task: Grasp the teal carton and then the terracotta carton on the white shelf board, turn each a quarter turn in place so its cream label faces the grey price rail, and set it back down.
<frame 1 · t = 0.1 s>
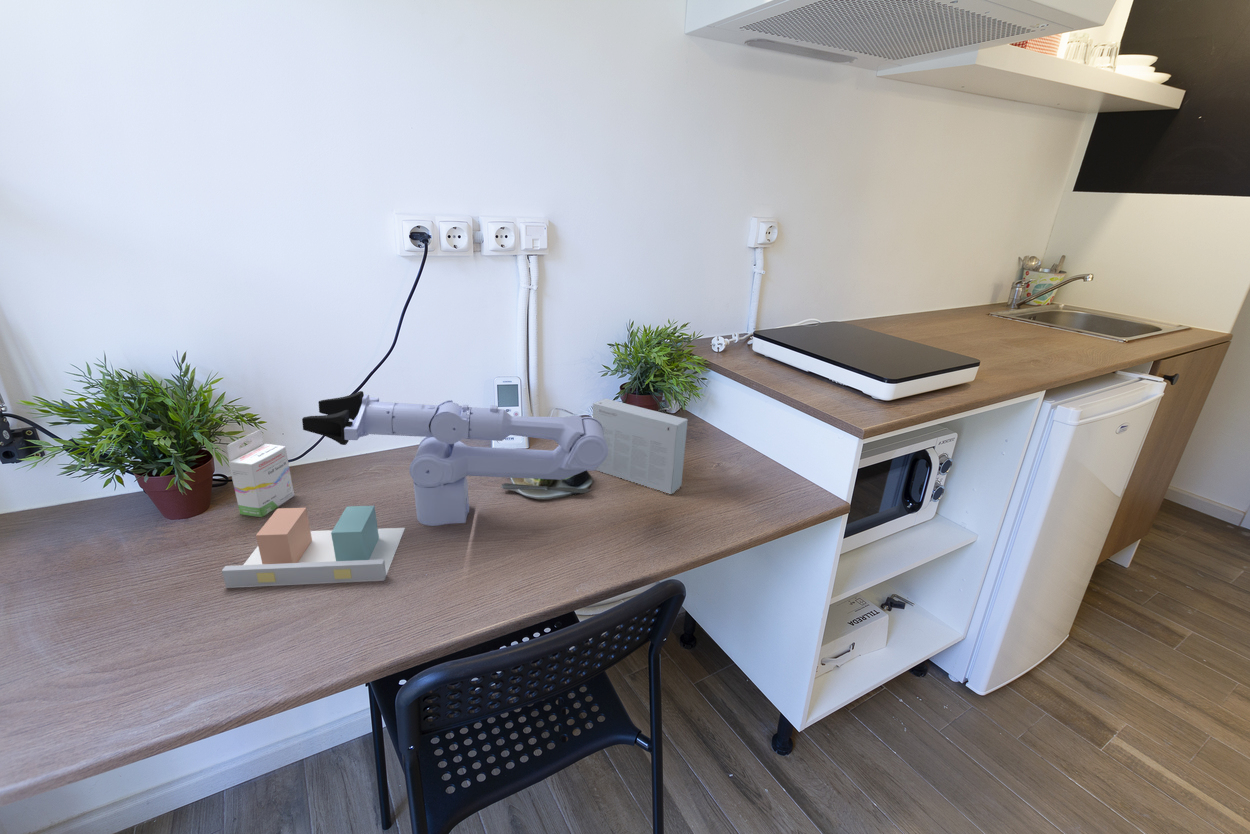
hand: (311, 414, 99), 22 cm above the worktop, tool horizontal, fingers open, 7 cm apart
terracotta carton: (274, 555, 96), point 1 cm above the worktop, touching shelf board
skincare box: (635, 478, 129), on the worktop
teal carton: (344, 552, 98), point 1 cm above the worktop, touching shelf board
salad plate: (553, 483, 126), on the worktop
ink box: (269, 509, 111), on the worktop
shelf board: (324, 560, 97), on the worktop
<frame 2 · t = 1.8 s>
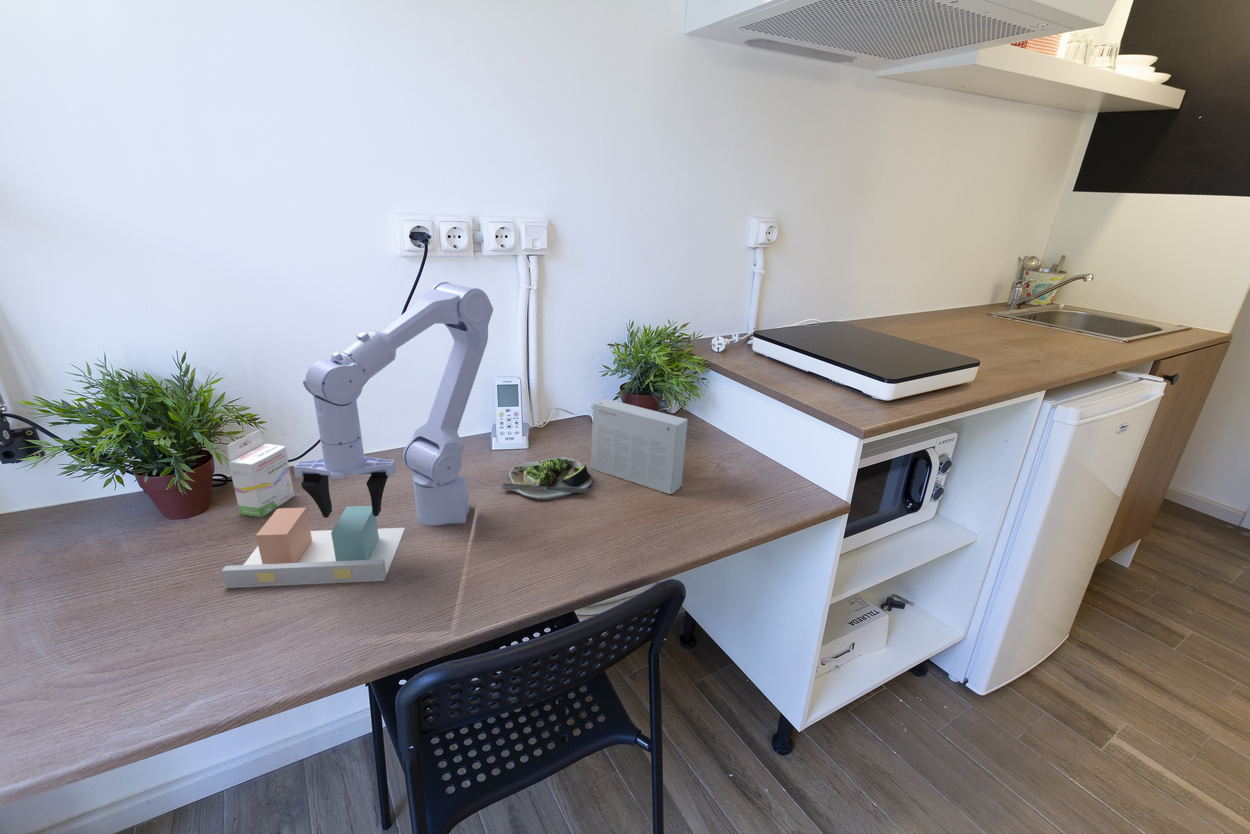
hand: (352, 513, 95), 8 cm above the worktop, tool pointing down, fingers open, 7 cm apart
nothing on the worktop moved.
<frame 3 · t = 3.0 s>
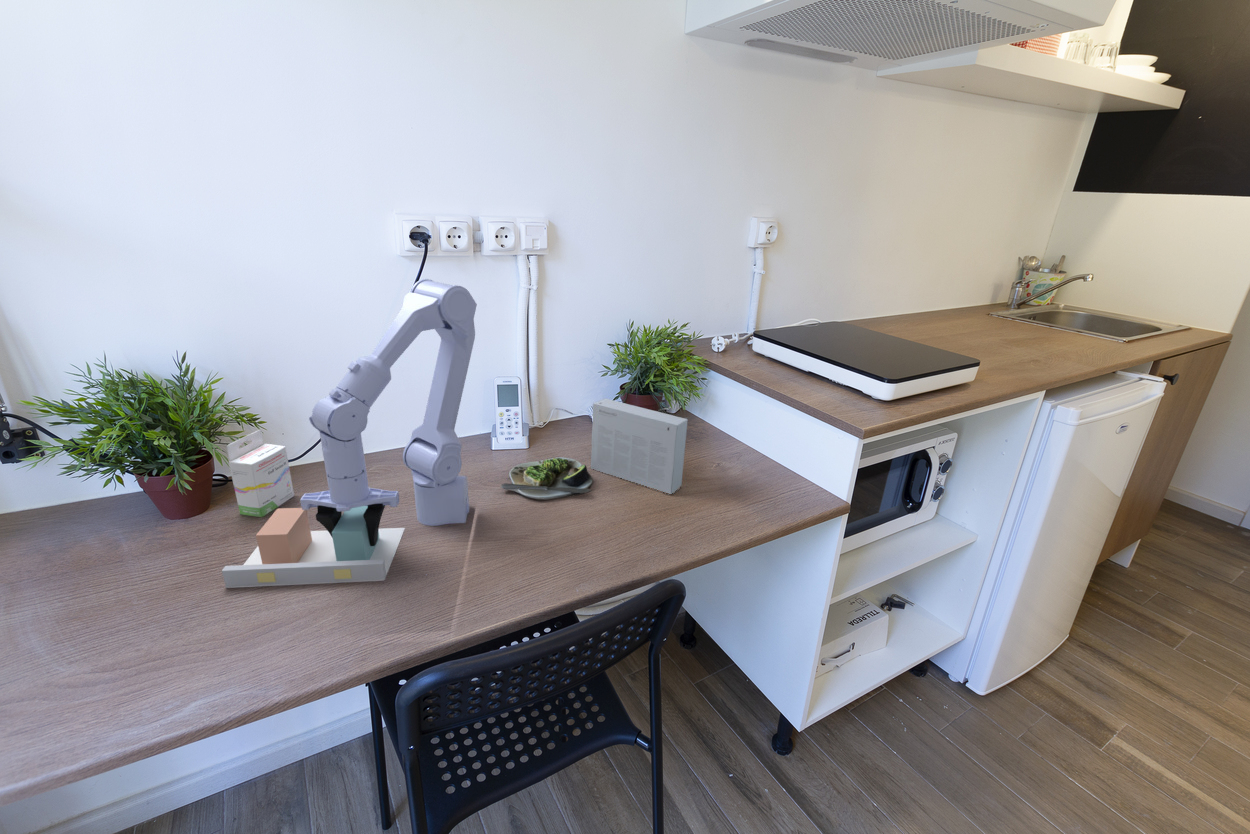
hand: (357, 543, 97), 3 cm above the worktop, tool pointing down, fingers closed on teal carton, 5 cm apart
teal carton: (345, 552, 98), point 1 cm above the worktop, touching gripper, shelf board
everything else where it was.
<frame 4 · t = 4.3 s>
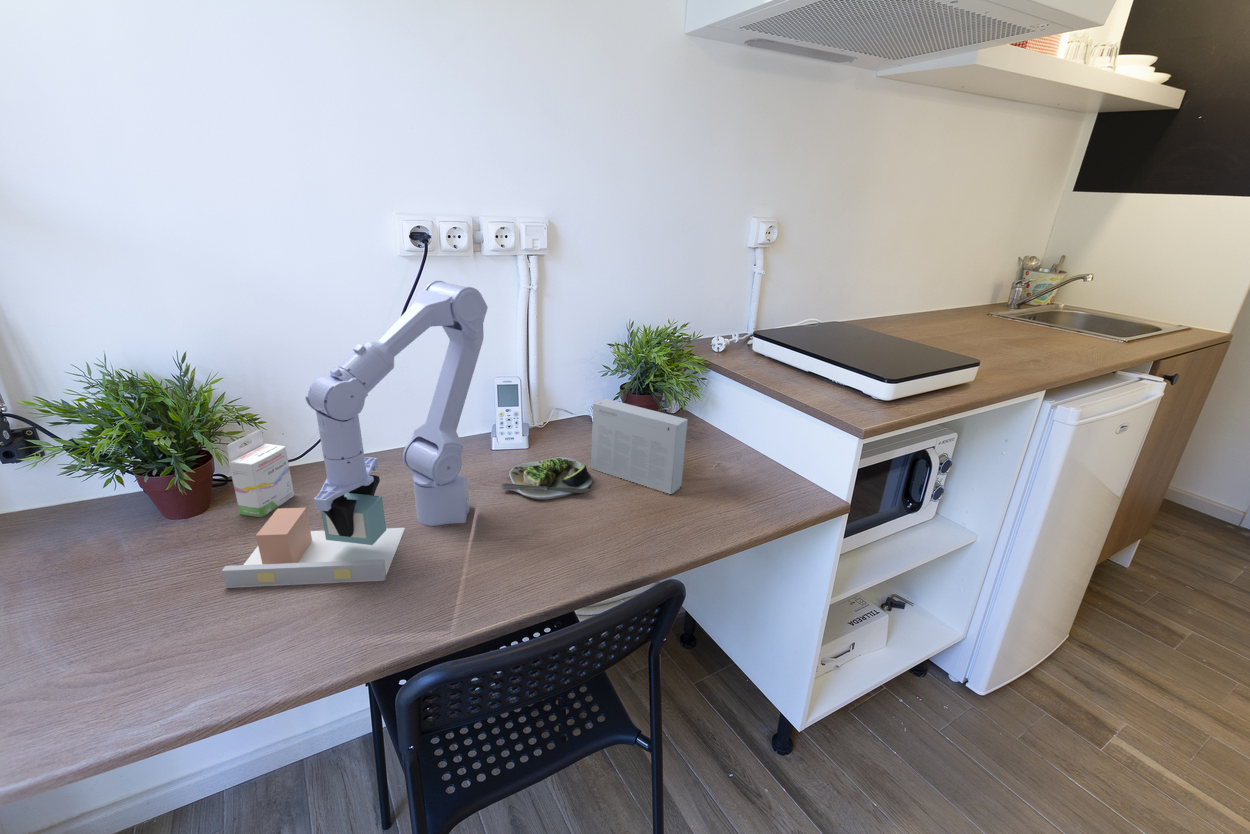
hand: (355, 526, 96), 6 cm above the worktop, tool pointing down, fingers closed on teal carton, 5 cm apart
teal carton: (349, 542, 95), point 4 cm above the worktop, touching gripper
everything else where it was.
when the fingers open (4 cm above the worktop, at t = 5.9 s): teal carton stays where it is, resting on shelf board.
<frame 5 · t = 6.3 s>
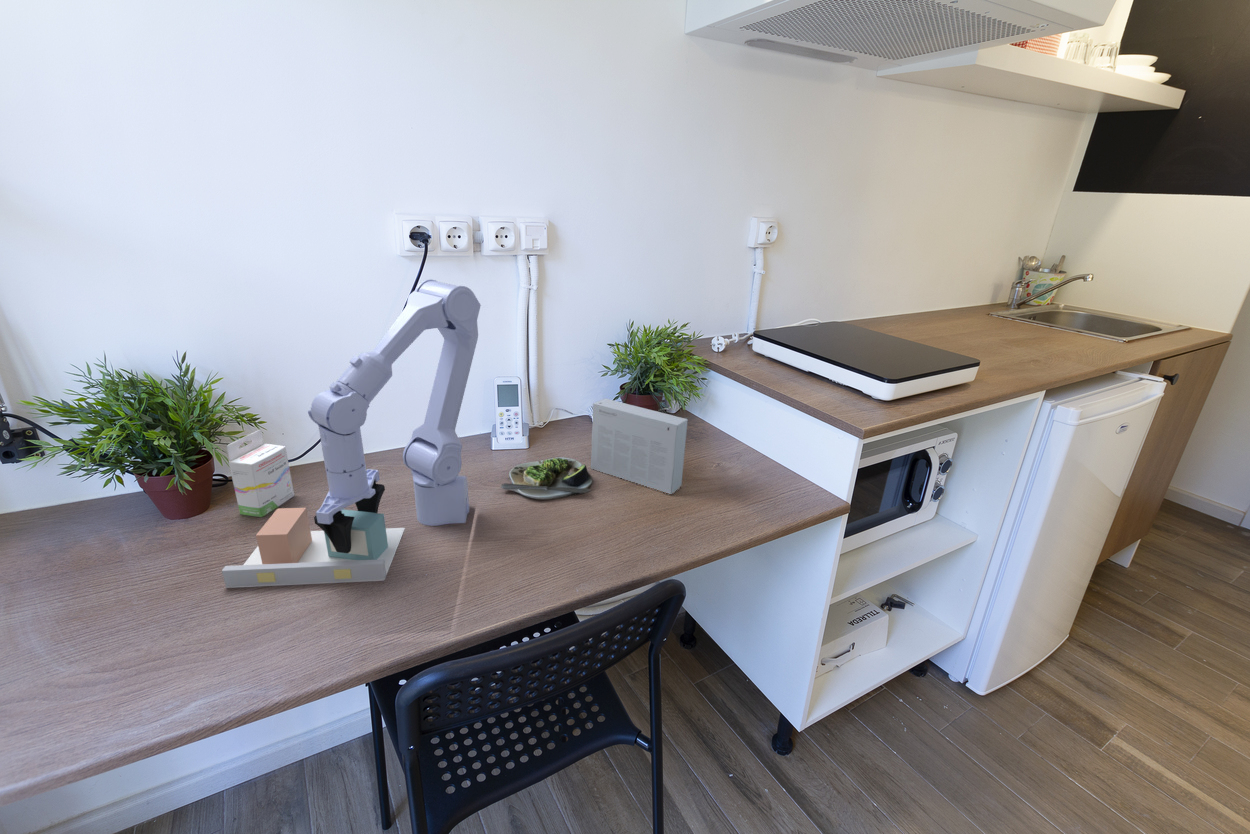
hand: (356, 538, 97), 4 cm above the worktop, tool pointing down, fingers open, 7 cm apart
teal carton: (351, 559, 96), point 1 cm above the worktop, touching shelf board
everything else where it was.
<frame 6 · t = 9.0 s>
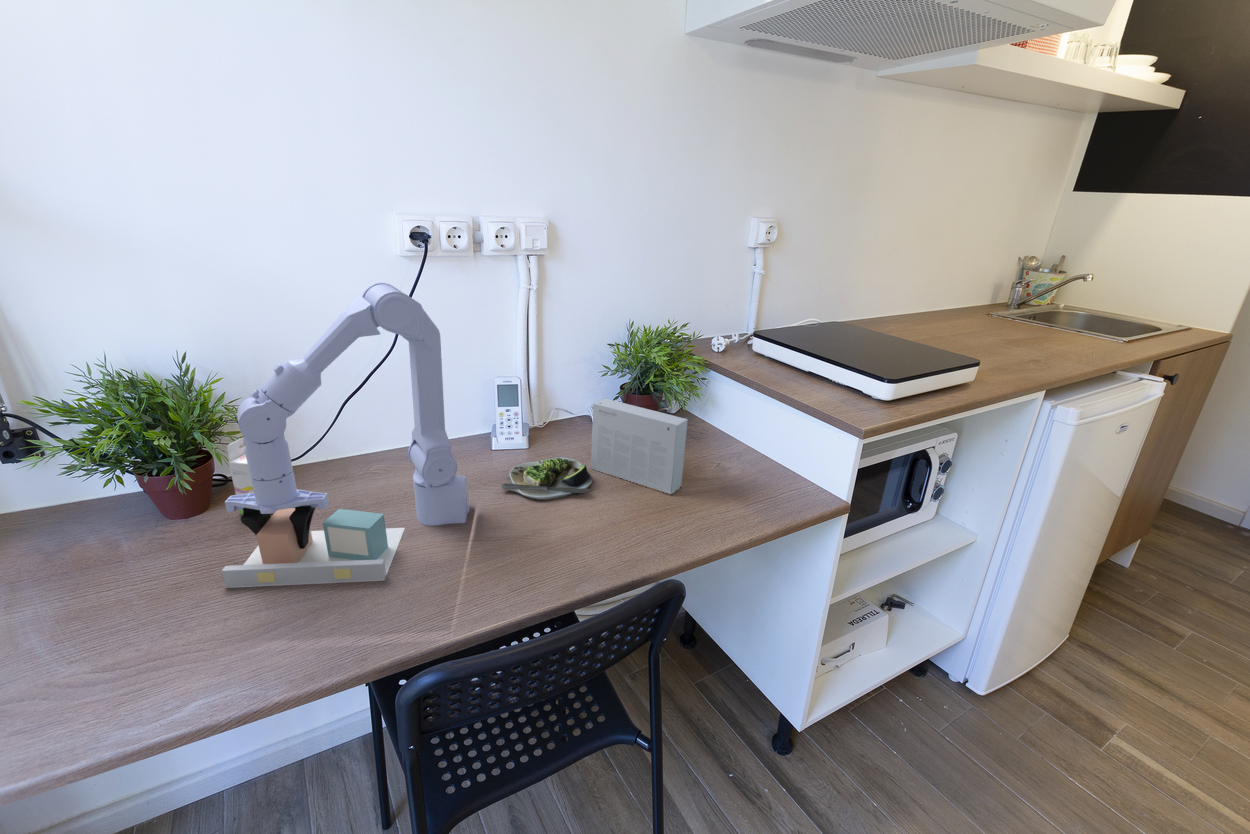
hand: (287, 546, 96), 3 cm above the worktop, tool pointing down, fingers closed on terracotta carton, 5 cm apart
terracotta carton: (274, 555, 96), point 1 cm above the worktop, touching gripper, shelf board
everything else where it was.
when the fingers open (4 cm above the worktop, at t = 12.1 s): terracotta carton stays where it is, resting on shelf board.
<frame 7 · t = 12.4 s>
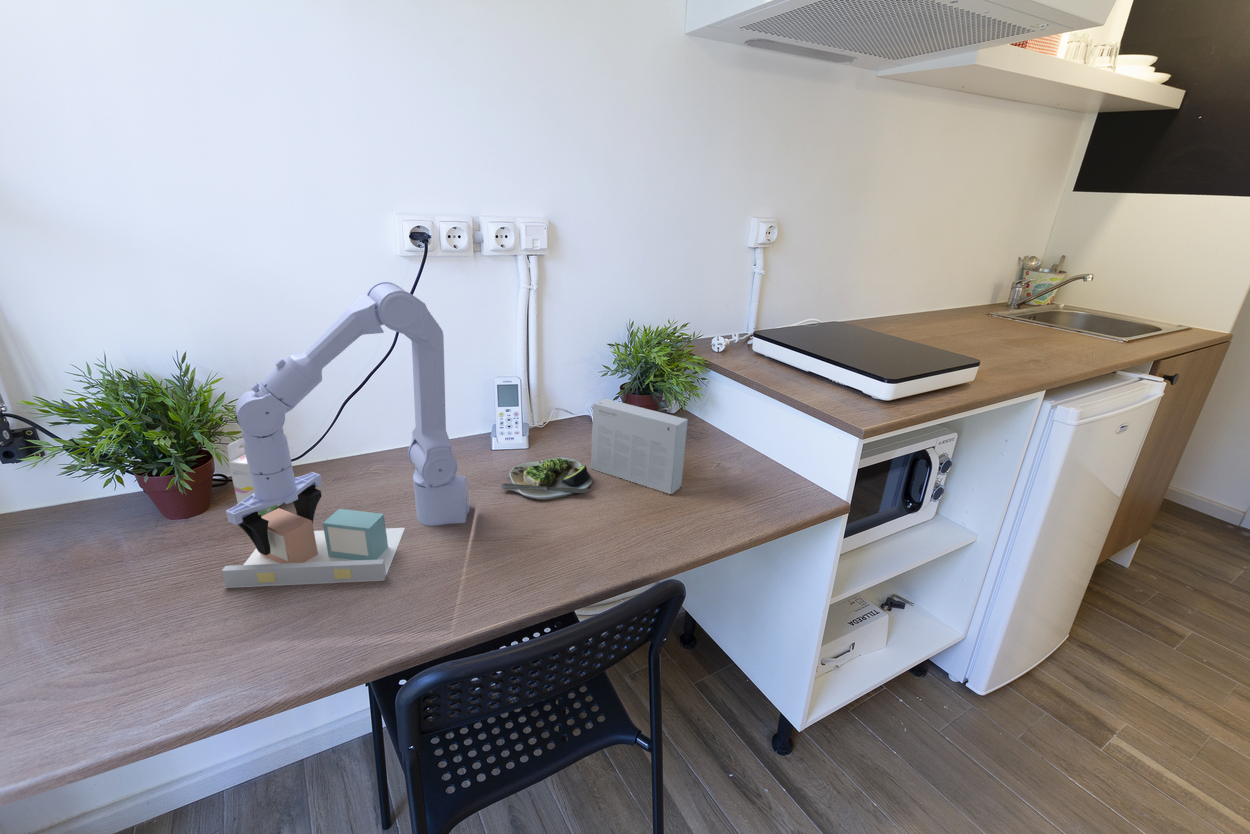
hand: (286, 540, 95), 4 cm above the worktop, tool pointing down, fingers open, 7 cm apart
terracotta carton: (276, 561, 95), point 1 cm above the worktop, touching shelf board
everything else where it was.
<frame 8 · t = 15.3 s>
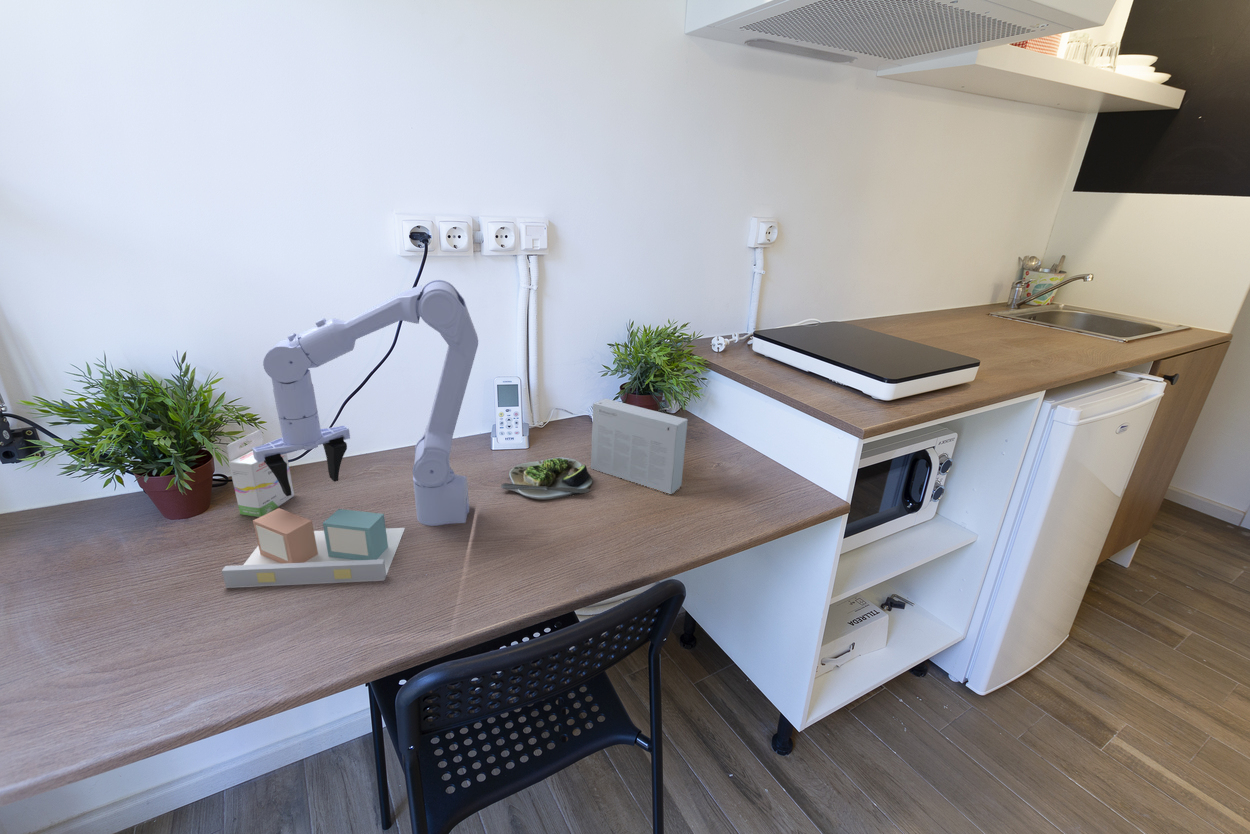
hand: (311, 486, 101), 9 cm above the worktop, tool pointing down, fingers open, 7 cm apart
nothing on the worktop moved.
at the end: teal carton 1.2 cm from the target spot, point 1.0 cm above the worktop; terracotta carton 1.8 cm from the target spot, point 1.0 cm above the worktop; terracotta carton tilted 0° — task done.
